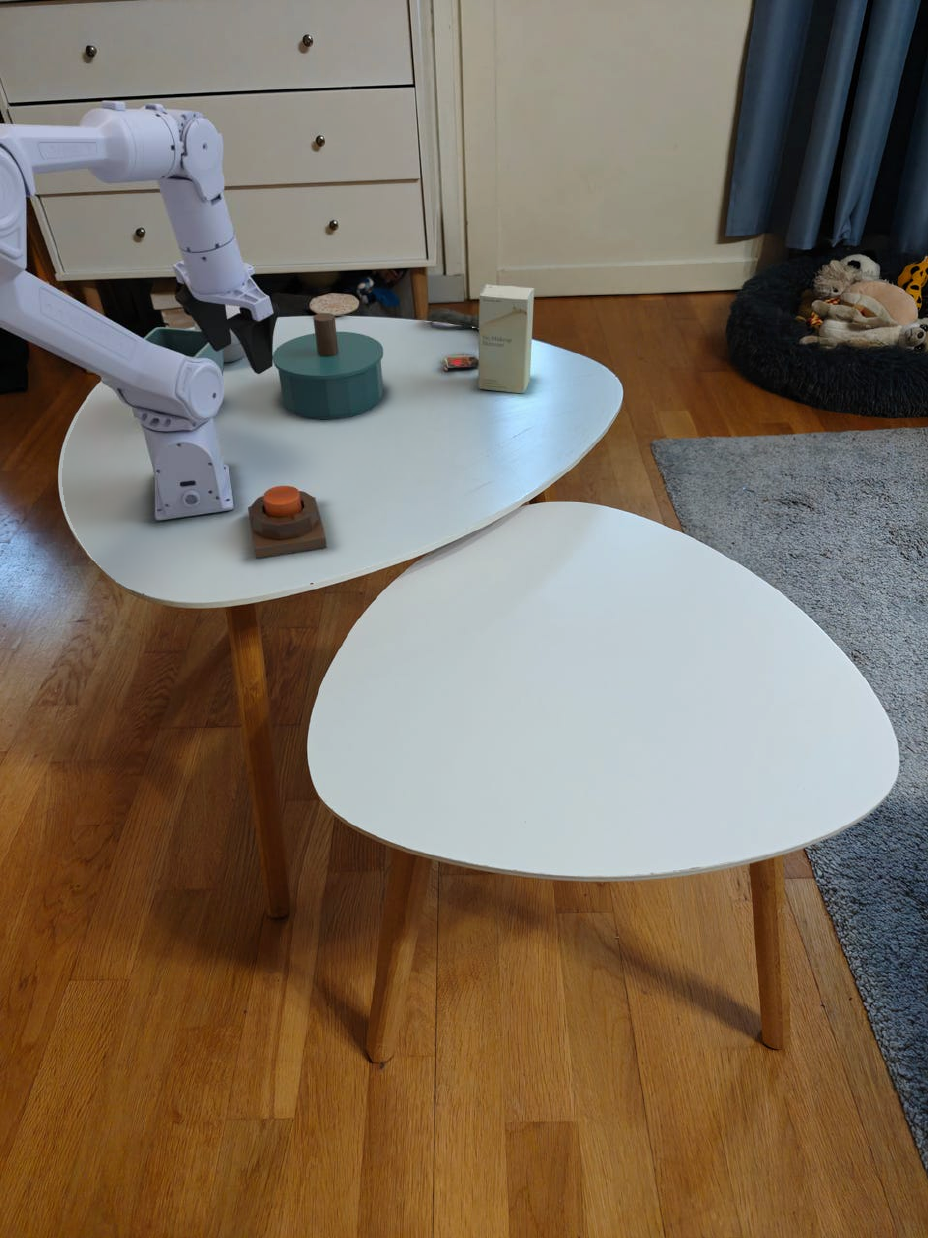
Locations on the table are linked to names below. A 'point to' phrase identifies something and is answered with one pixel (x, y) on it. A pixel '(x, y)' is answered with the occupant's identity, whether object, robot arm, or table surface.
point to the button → (282, 501)
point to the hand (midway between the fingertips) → (242, 357)
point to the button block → (286, 529)
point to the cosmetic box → (505, 337)
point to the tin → (332, 394)
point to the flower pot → (185, 343)
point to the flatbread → (334, 304)
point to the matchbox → (461, 361)
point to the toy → (454, 317)
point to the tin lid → (327, 352)
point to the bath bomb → (235, 348)
